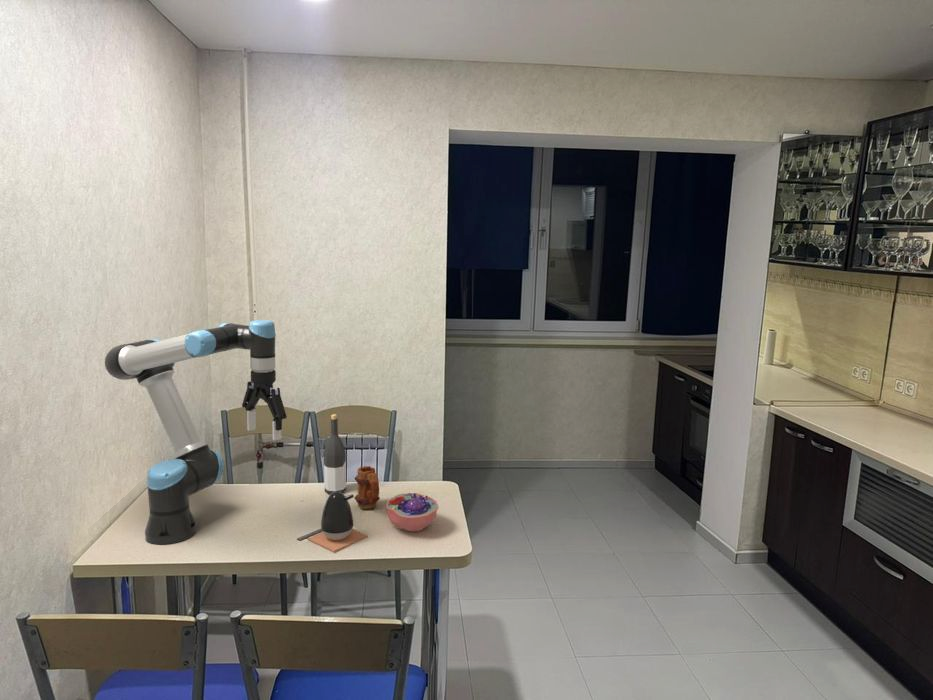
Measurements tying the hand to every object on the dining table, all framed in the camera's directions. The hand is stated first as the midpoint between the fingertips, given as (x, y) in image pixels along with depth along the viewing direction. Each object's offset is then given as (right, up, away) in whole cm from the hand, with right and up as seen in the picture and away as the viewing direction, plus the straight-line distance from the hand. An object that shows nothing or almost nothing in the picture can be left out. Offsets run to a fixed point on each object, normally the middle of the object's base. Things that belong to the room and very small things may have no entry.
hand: (264, 434), depth 209 cm
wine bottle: (+15, -27, +40) cm, 51 cm away
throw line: (+17, -33, +7) cm, 37 cm away
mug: (+30, -30, +24) cm, 49 cm away
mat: (+23, -34, +2) cm, 41 cm away
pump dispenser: (+23, -33, +2) cm, 41 cm away
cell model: (+46, -33, +11) cm, 58 cm away
